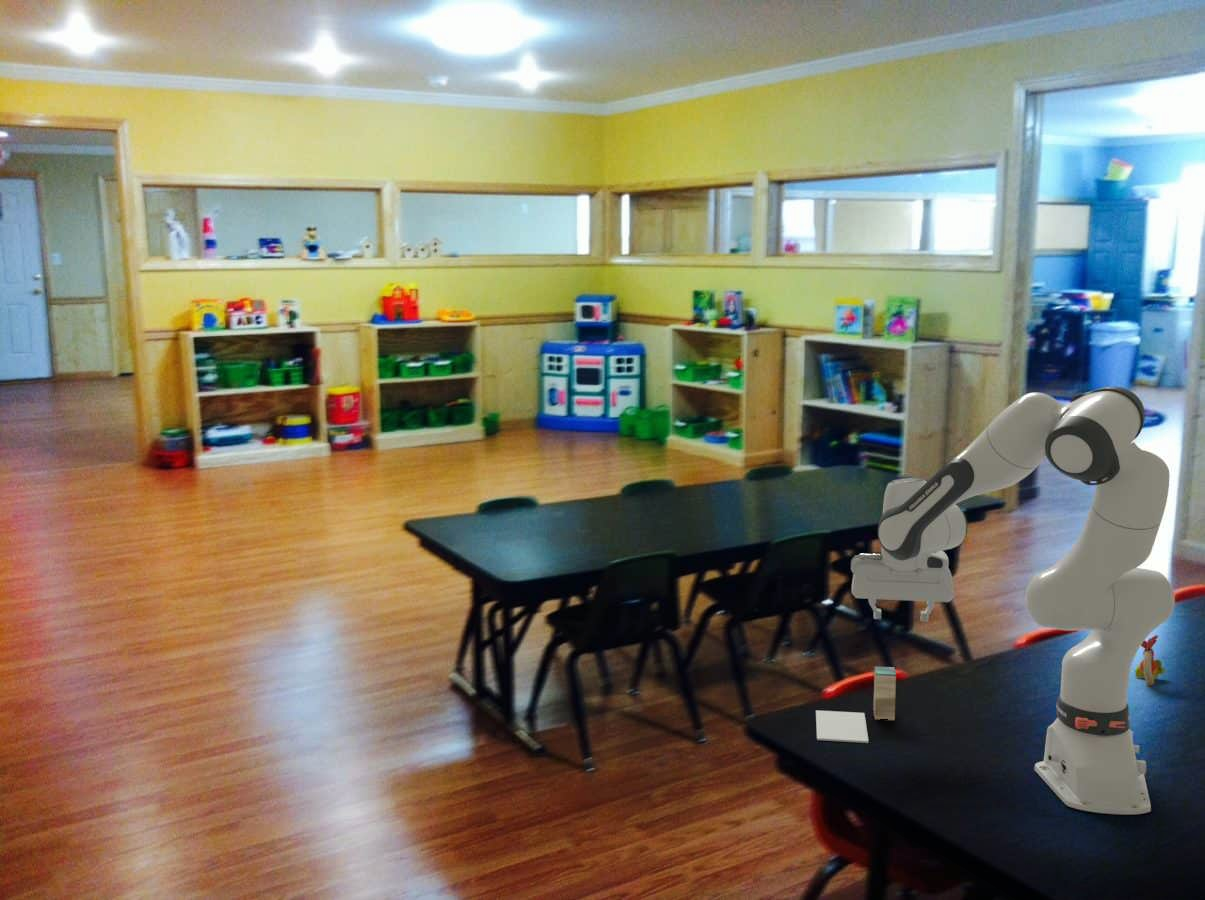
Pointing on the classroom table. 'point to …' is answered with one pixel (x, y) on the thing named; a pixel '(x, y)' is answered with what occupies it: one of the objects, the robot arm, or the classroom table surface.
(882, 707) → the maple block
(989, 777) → the classroom table surface
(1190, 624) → the classroom table surface
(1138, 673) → the bird rattle
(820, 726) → the grey mat
